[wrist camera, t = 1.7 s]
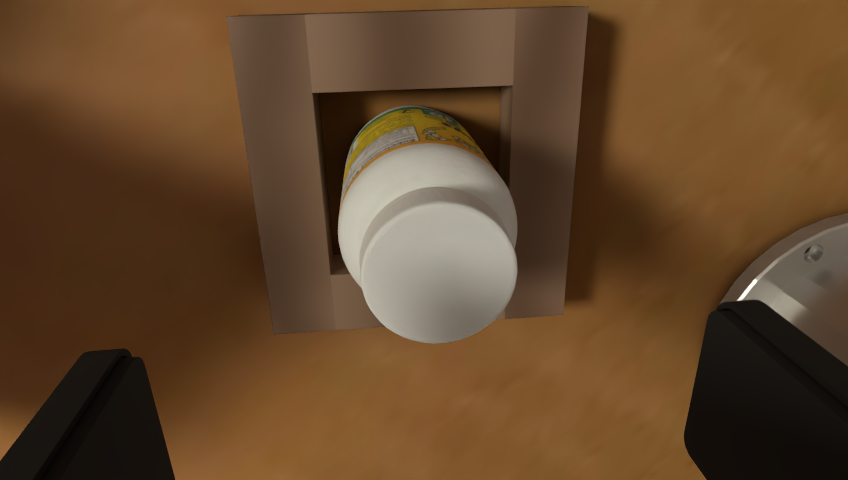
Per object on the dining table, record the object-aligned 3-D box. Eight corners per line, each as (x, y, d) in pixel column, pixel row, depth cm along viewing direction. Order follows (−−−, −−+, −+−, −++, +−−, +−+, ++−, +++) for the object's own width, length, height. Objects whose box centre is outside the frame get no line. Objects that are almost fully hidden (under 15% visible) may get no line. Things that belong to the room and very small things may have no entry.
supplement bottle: (319, 148, 22) (285, 245, 13) (437, 76, 22) (483, 128, 13) (391, 253, 24) (403, 398, 15) (501, 190, 24) (578, 304, 15)
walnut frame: (569, 6, 21) (588, 6, 19) (549, 292, 26) (563, 315, 24) (239, 15, 20) (226, 16, 18) (281, 309, 25) (273, 334, 23)
